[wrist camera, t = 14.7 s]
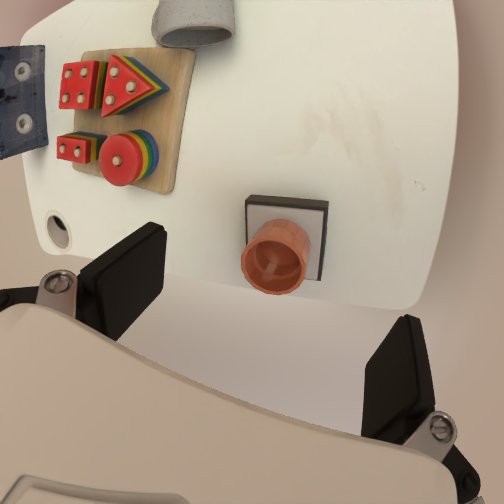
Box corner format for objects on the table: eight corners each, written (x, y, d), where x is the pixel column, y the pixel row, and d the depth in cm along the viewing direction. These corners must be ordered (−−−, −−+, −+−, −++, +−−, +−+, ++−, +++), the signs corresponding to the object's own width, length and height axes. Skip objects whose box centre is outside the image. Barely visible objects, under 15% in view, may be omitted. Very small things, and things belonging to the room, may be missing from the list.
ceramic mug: (240, -20, 22) (211, -48, 15) (245, 40, 25) (216, 21, 18) (157, 3, 25) (117, -12, 18) (160, 58, 28) (117, 52, 22)
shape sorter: (90, 52, 29) (58, 51, 24) (197, 50, 27) (169, 41, 22) (79, 166, 38) (50, 177, 33) (174, 192, 35) (146, 207, 30)
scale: (329, 201, 31) (328, 209, 28) (322, 271, 35) (320, 284, 32) (250, 194, 33) (243, 201, 31) (251, 262, 37) (245, 274, 34)
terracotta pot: (323, 248, 30) (319, 273, 26) (281, 278, 33) (271, 304, 29) (284, 205, 29) (273, 223, 25) (244, 240, 32) (228, 261, 28)
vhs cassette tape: (37, 49, 30) (-9, 52, 22) (46, 43, 30) (-1, 45, 21) (40, 147, 39) (-6, 162, 30) (48, 145, 38) (1, 160, 29)
